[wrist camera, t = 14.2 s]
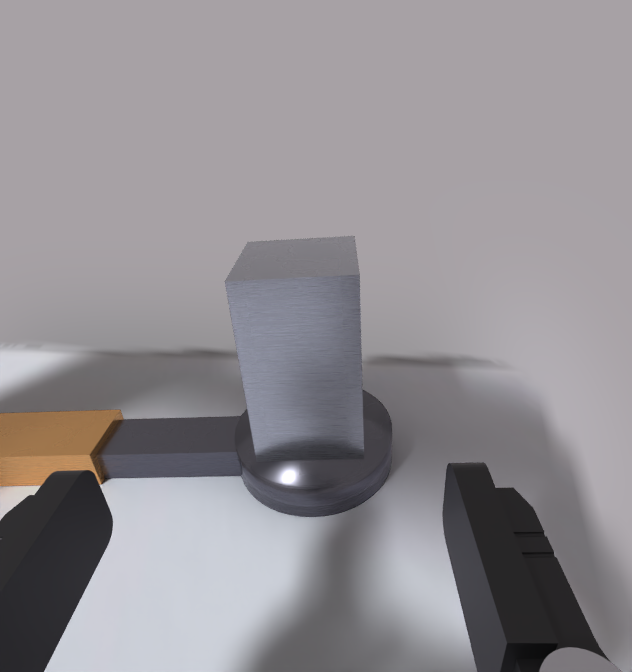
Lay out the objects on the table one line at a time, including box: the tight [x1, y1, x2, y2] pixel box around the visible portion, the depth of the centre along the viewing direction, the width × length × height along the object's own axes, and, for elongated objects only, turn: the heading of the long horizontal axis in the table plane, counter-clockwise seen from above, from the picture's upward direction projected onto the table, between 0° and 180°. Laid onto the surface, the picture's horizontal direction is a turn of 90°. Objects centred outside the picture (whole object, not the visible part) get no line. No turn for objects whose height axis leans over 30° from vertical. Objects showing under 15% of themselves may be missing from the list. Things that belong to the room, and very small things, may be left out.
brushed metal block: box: [225, 236, 364, 462], centre depth 21 cm, size 5×5×9 cm
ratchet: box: [0, 390, 392, 517], centre depth 23 cm, size 25×8×6 cm, turn 88°
